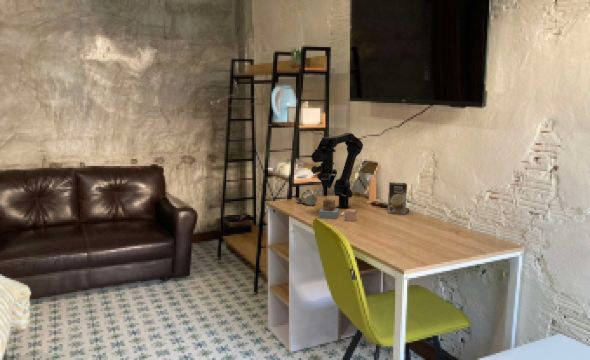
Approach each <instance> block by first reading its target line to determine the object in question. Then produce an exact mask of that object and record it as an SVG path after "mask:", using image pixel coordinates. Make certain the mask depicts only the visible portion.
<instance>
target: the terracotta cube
mask: <svg viewBox="0 0 590 360" xmlns="http://www.w3.org/2000/svg"><path fill="white" fill-rule="evenodd" d="M344 212H345V216H344V222H355V221H356V220H357V212H358V211H357V209H351V208H345V210H344Z"/></svg>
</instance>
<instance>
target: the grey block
mask: <svg viewBox="0 0 590 360" xmlns="http://www.w3.org/2000/svg"><path fill="white" fill-rule="evenodd" d="M339 210H340V208H337V207H335V210H333V211H323V207H321V208H320V209H319V211H318V218H319V219H326V220H327V219H328V220H337V219H338V217H339V216H340V213H339V212H340V211H339Z"/></svg>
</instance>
